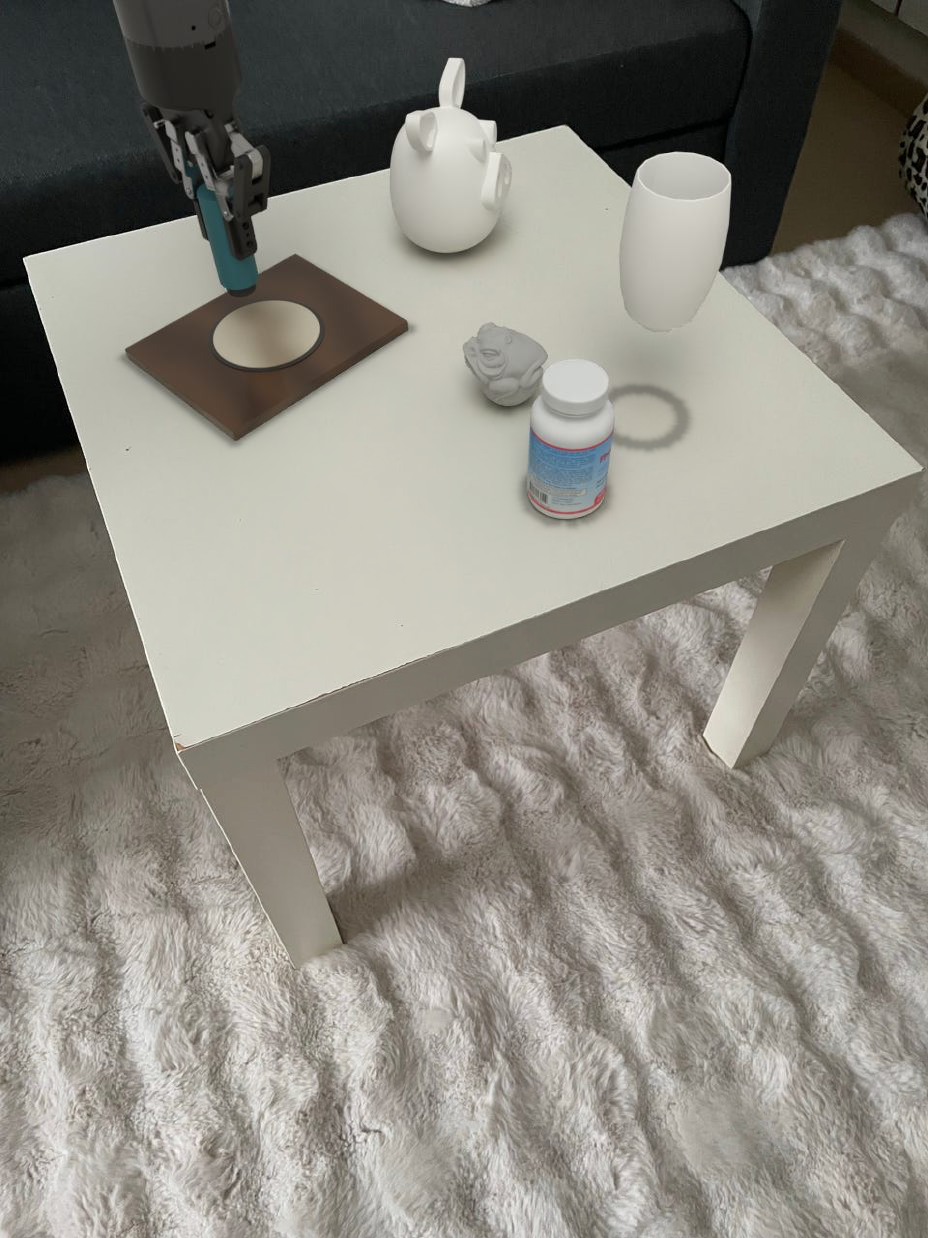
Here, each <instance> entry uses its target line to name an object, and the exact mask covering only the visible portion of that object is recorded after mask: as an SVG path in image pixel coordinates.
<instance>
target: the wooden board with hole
mask: <svg viewBox="0 0 928 1238" xmlns="http://www.w3.org/2000/svg"><path fill="white" fill-rule="evenodd" d="M258 274H259V278H258V281H257V282H256V290H255V292H254V293H253V294H251V295H249V296H246V297H233V296H231V295H229V294H228V293H227V291H226V292H224V293H222V294H220V295H218V296H217V297H215V298H213V299H211V300H209V301H208V302H206V303H204V304H203V305H201V306H199V307H197V308H195V309H194V310H192V311H190V312H188V313H186V314H184V315H183V316H181V317H179V318H178V319H176V320H174V321H172V322H170V323H169V324H167V325H165V326H163V327H161V328H159V329H158V330H156V331H154V332H153V333H150V334H149V335H147V336H145V337H143V338H141V339H140V340H138V341H136V342H135V343H133V344H131V345H129V346H127V347H126V348H124V352H125V355H126V357H127V359H129V360H130V361H132V362H133V363H134V364H135V365H136V366H138V367H139V368H140V369H142V370H143V371H144V372H146V374H148V375H150V376H151V377H152V378H153V379H155V380H156V381H157V382H158V383H160V384H161V385H163V386H164V387H165V388H166V389H168V390H169V391H170V392H172V393H173V394H174V395H176V396H177V397H178V398H179V399H181V400H182V401H184V402H185V403H186V404H187V405H189V406H190V407H191V408H193V409H194V410H195V411H197V412H198V413H199V414H200V415H202V416H203V417H204V418H206V419H207V420H208V421H209V422H210V423H212V424H213V425H215V426H216V427H217V428H218V429H220V430H221V431H223V432H224V433H225V434H227V436H229V437H231V438H232V439H233V440H234V441H238V440H240V439H241V438H243V437H245V435H248V434H249V433H250V432H252V431H253V430H255V429H256V428H258V427H259V426H261V425H262V424H264V423H266V422H267V421H268V420H271V419H272V418H273V417H275V416H276V415H278V414H279V413H281V412H283V411H284V410H286V409H287V408H289V407H290V406H292V405H294V404H295V403H297V402H298V401H300V400H301V399H303V398H304V397H306V396H308V395H309V394H311V393H312V392H314V391H315V390H317V389H319V388H321V386H323V385H325V384H327V383H328V382H329V381H331V380H332V379H334V378H335V377H337V376H338V375H340V374H342V373H343V372H344V371H346V370H347V369H349V368H351V367H352V366H354V365H356V364H357V363H359V362H360V361H362V360H363V359H365V358H366V357H368V356H369V355H371V354H373V353H374V352H376V351H377V350H379V349H380V348H382V347H383V346H385V345H386V344H388V343H390V342H391V341H393V340H394V339H396V338H397V337H399V336H401V335H402V334H404V333H405V332H407V331H408V330H409V325H408V324H409V323H408V320H407V319H405V318H404V317H402V316H400V315H399V314H397V313H396V312H394V311H393V310H390V309H389V308H388V307H385V306H384V305H382V304H381V303H379V302H377V301H376V300H374V299H372V298H370V297H369V296H367V295H365V294H364V293H362V292H360V291H359V290H357V289H355V288H354V287H352V286H350V285H349V284H347V283H346V282H344V281H342V280H341V279H339V278H337V277H336V276H334V275H332V274H330V273H329V272H327V271H325V270H324V269H322V268H320V267H319V266H317V265H316V264H314V263H312V262H310V261H309V260H308V259H305V258H304V257H303V256H301V255H299V254H297V253H293V254H292V255H290V256H288V257H287V258H285V259H283V260H281V261H279V262H278V263H276V264H274V265H272V266H270V267H268V268H266V269H265V270H263V271H261V272H259V273H258Z"/></svg>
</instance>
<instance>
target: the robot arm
mask: <svg viewBox="0 0 928 1238" xmlns="http://www.w3.org/2000/svg"><path fill="white" fill-rule="evenodd" d="M112 3H113V5H114V10H115V12H116V15H117V19H118V23H119V27H120V30H121V33H122V37H123V40H124V45H125V47H126V52H127V54H128V58H129V61H130V64H131V67H132V71H133V75H134V78H135V82H136V86H137V89H138V91H139V94H140V96H141V97H142V99H143V100H144V101H145V102H143V103H141V104H139V110H140V114H141V116H142V118H143V120H144V122H145V124H146V127H147V129H148V131H149V133H150V135H151V138H152V140H153V142H154V144H155V146H156V149H157V151H158V153H159V155H160V157H161V159H162V162H163V163H164V166H165V168H166V170H167V172H168V175H169V177H170V179H171V180H172V181H173V182H174V184H179V183H182V184H183V189H184V192H185V194H186V196H187V197H188V198H189V199H191V200H192V202H193V207H194V210H195V214H196V218H197V222H198V225H199V228H200V229H199V230H200V232H201V236H202V239H204V240H206V241H207V242H209V239H208V235H207V231H206V227H205V223H204V220H203V216H202V212H201V208H200V204H199V200H198V196H197V190H198V188H199V187H200V186H201V185H202V184H204V183H205V185H206V187H207V189H209V190H211V191H214V193H215V196H216V198H217V201H218V204H219V207H220V210H221V212H222V215H223V218H222V219H223V223H224V227H225V231H226V235H227V239H228V243H229V247H230V251H231V255H232V256H233V257H234V258H235V259H237V260H239V261H242V260H244V259H246V258H248V257H250V256H251V255H253V254H254V255H255V254H256V253H257V251H258V248H259V247H258V241H257V237H256V232H255V227H254V224H253V223H254V222H253V216H255V215H257V214H260V213H262V212H264V211H266V210H267V209H268V200H269V188H270V187H269V186H270V175H271V174H270V172H271V161H272V160H271V159H272V158H271V153H270V151H269V148H267V147H266V145H264V144H260V145H259V146H256V147H253V145H252V144H251V143H249V142H248V140H247V139H246V138H245V137H244V129H243V125H242V123H241V121H240V119H239V116H238V114H237V111H236V108H235V105H234V103H235V99H236V97H237V94H238V93H239V91H240V89H241V88H242V85H243V81H244V76H243V70H242V66H241V60H240V56H239V51H238V46H237V41H236V36H235V31H234V25H233V21H232V16H231V12H230V7H229V1H228V0H112ZM226 169H229V170H227V171H225V170H226ZM223 171H224V172H223ZM220 172H222V173H221V174H218V173H220ZM217 174H218V175H217ZM232 186H233V200H232V201H230V198H229V195H228V189H229V188H230V187H232Z"/></svg>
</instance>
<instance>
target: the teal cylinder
mask: <svg viewBox="0 0 928 1238" xmlns="http://www.w3.org/2000/svg"><path fill="white" fill-rule="evenodd" d="M228 195H229V198H230V201H232V200H233V186H232V187H230V188H229V189H228ZM197 196H198V200H199V204H200V208H201V212H202V216H203V220H204V223H205V227H206V231H207V235H208V239H209V241H208V243H209V246H210V250H211V255H212V257H213V262H214V265H215V269H216V274H217V277H218V281H219V284H220V286H221V287H223V288H224V289H226V292H227V293H228V294H229V295H231V296H233V297H246V296H249V295H251V294H253V293H254V292H255V290H256V282H257V281H258V278H259V274H260V273H259V271H258V266H257V261H256V256H255V254H253V255H251V256H250V257H248V258H246V259H244V260H242V261H239V260H237V259H235V258H234V257H233V256H232V255H231V251H230V247H229V243H228V239H227V235H226V231H225V227H224V223H223V219H222V218H223V215H222V212H221V210H220V207H219V204H218V201H217V198H216V196H215V193H214V191H211V190H209V189H207V187H206V185H205V183H204V184H202V185H201V186H200V187H199V188H198V190H197Z"/></svg>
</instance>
